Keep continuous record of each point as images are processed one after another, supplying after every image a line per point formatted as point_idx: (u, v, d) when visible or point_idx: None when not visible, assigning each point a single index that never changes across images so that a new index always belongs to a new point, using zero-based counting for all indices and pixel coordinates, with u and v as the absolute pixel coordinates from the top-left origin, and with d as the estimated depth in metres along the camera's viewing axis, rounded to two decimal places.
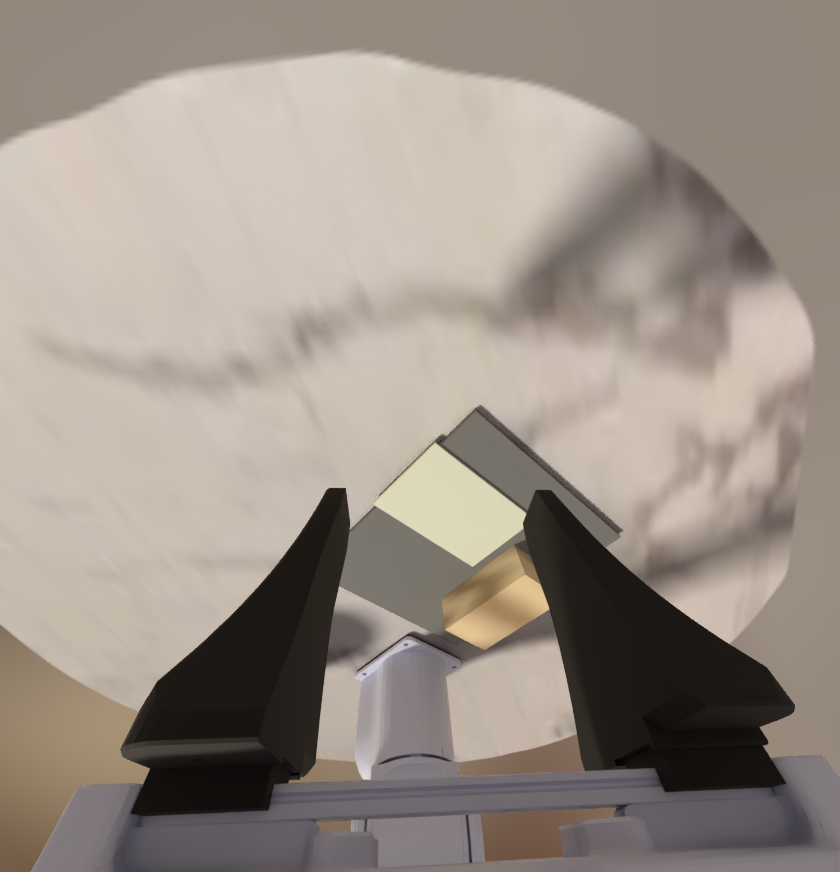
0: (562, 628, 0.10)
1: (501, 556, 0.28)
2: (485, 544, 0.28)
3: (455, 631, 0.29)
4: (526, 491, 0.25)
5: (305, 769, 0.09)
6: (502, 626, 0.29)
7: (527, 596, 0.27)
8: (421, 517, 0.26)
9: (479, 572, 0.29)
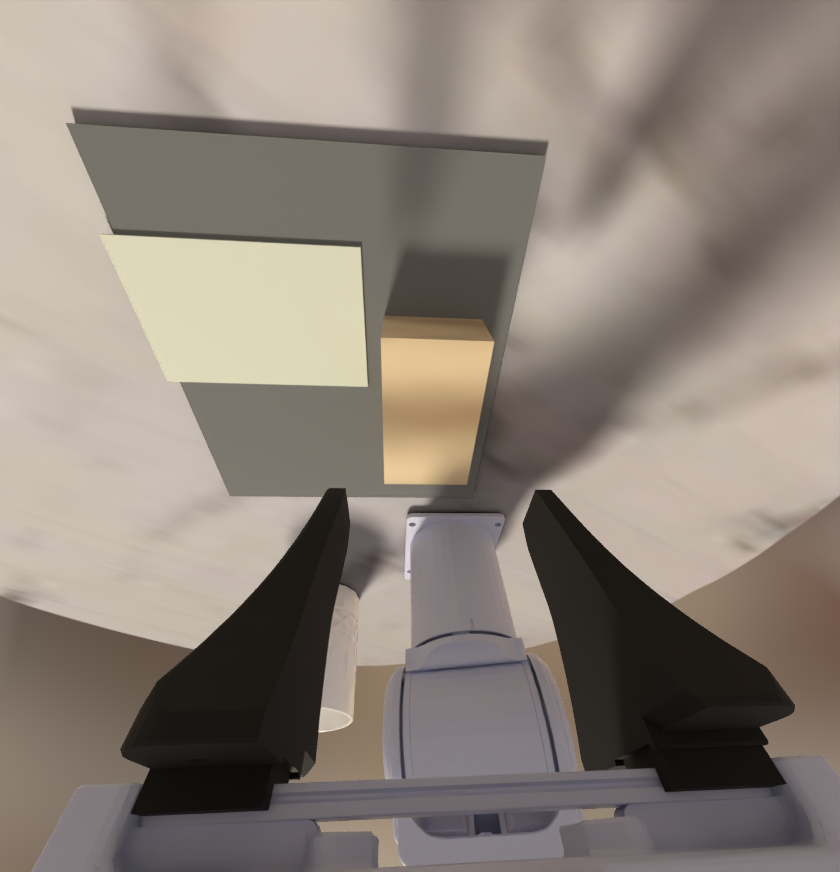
0: (562, 628, 0.10)
1: None
2: (343, 342, 0.17)
3: (398, 479, 0.20)
4: (295, 206, 0.14)
5: (305, 769, 0.09)
6: (450, 439, 0.18)
7: (429, 371, 0.15)
8: (230, 360, 0.18)
9: None
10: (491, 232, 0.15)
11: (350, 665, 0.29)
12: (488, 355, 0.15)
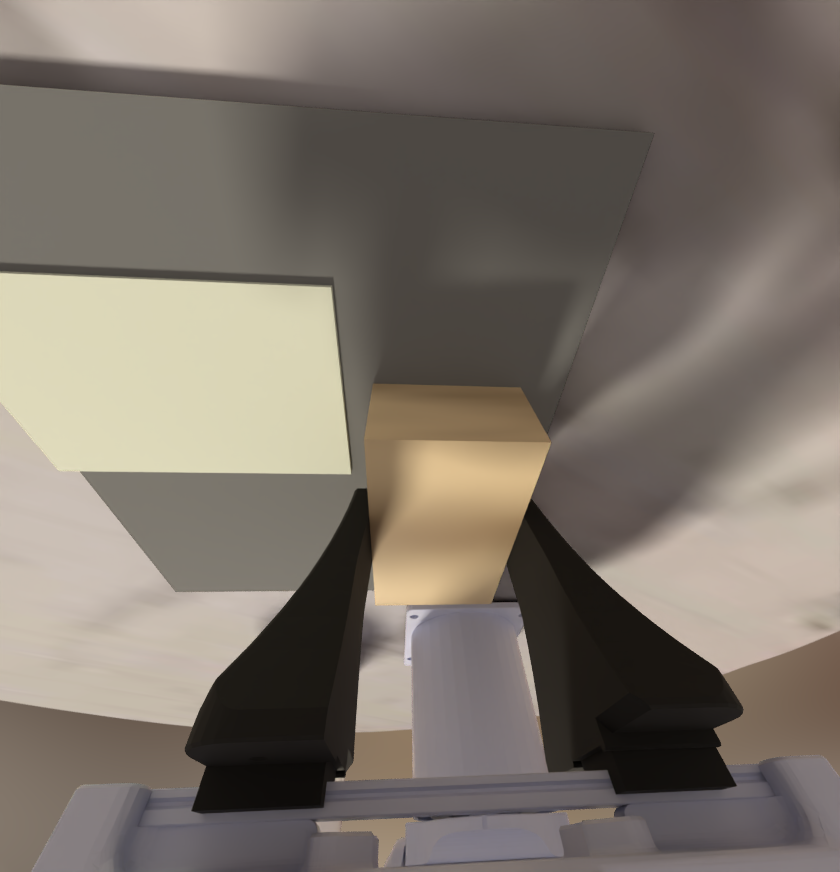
0: (530, 629, 0.10)
1: None
2: (312, 420, 0.12)
3: (395, 600, 0.14)
4: (217, 220, 0.08)
5: None
6: (472, 559, 0.12)
7: (442, 482, 0.10)
8: (145, 444, 0.12)
9: None
10: (547, 262, 0.09)
11: None
12: (539, 460, 0.09)
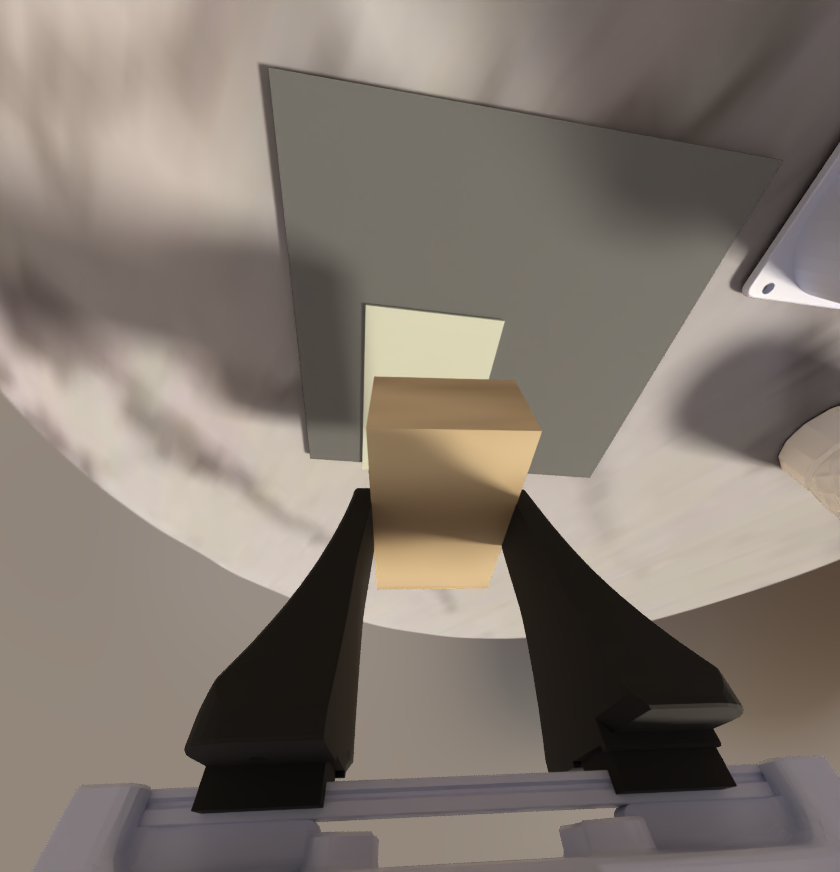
0: (530, 628, 0.10)
1: None
2: (450, 337, 0.17)
3: (396, 584, 0.14)
4: (338, 351, 0.18)
5: None
6: (468, 544, 0.13)
7: (440, 469, 0.10)
8: None
9: None
10: (347, 144, 0.13)
11: None
12: (531, 448, 0.10)
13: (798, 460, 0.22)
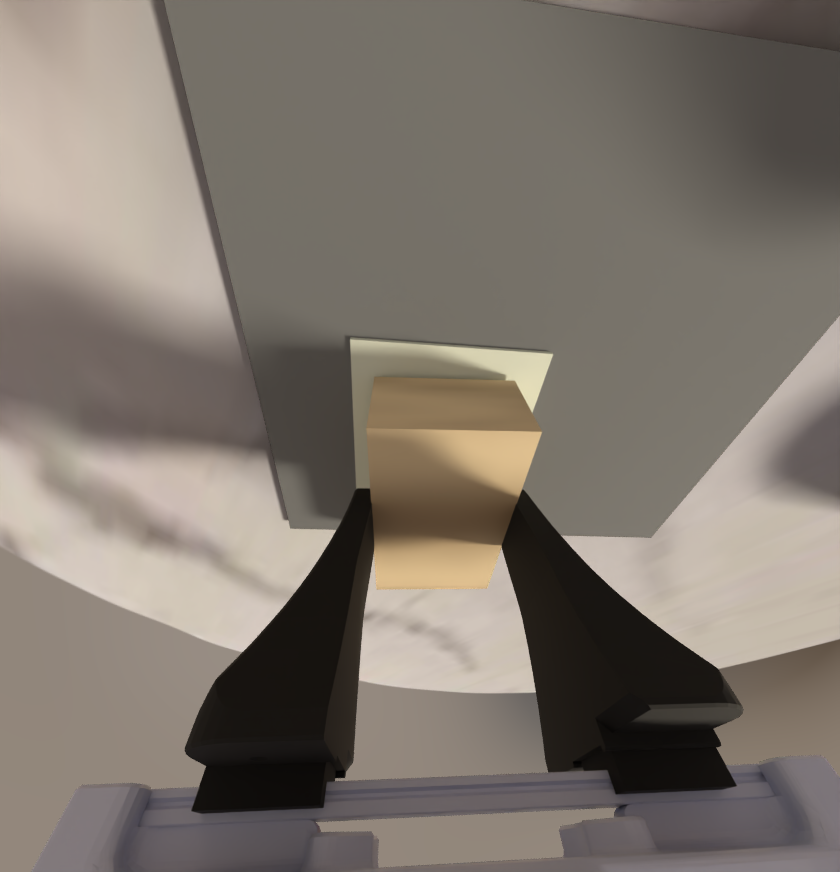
0: (530, 629, 0.10)
1: None
2: (474, 378, 0.12)
3: (396, 584, 0.15)
4: (316, 401, 0.13)
5: None
6: (468, 544, 0.13)
7: (440, 469, 0.10)
8: None
9: None
10: (304, 85, 0.07)
11: None
12: (531, 449, 0.10)
13: None
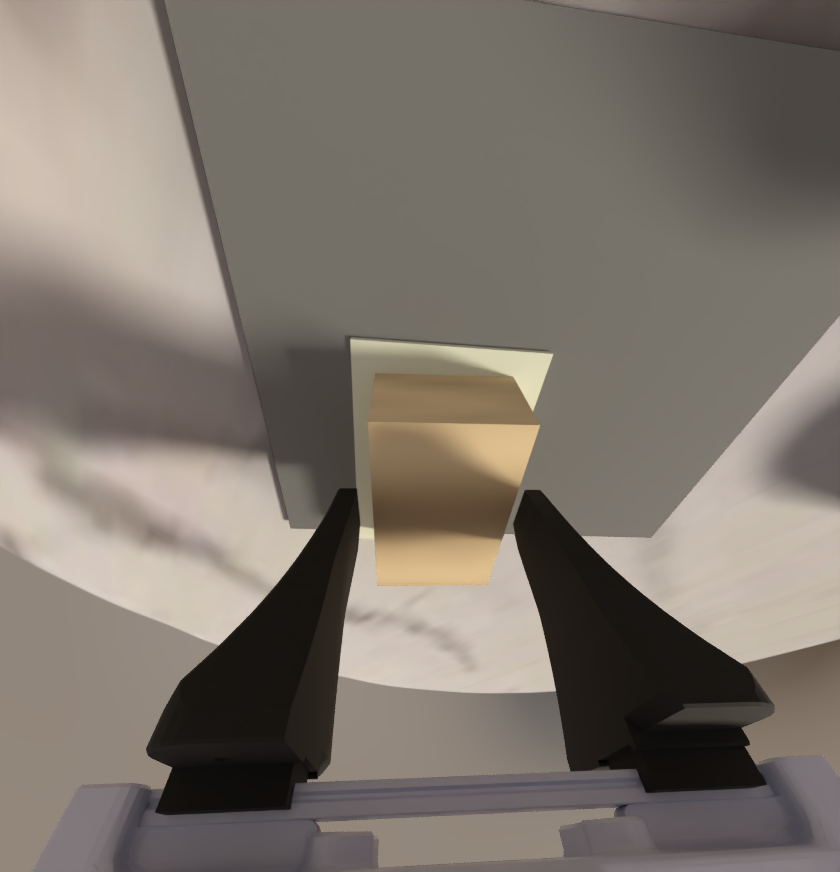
0: (550, 628, 0.10)
1: None
2: None
3: (396, 580, 0.15)
4: (316, 401, 0.13)
5: (321, 769, 0.09)
6: (468, 539, 0.13)
7: (440, 463, 0.10)
8: None
9: None
10: (304, 85, 0.07)
11: None
12: (529, 442, 0.10)
13: None
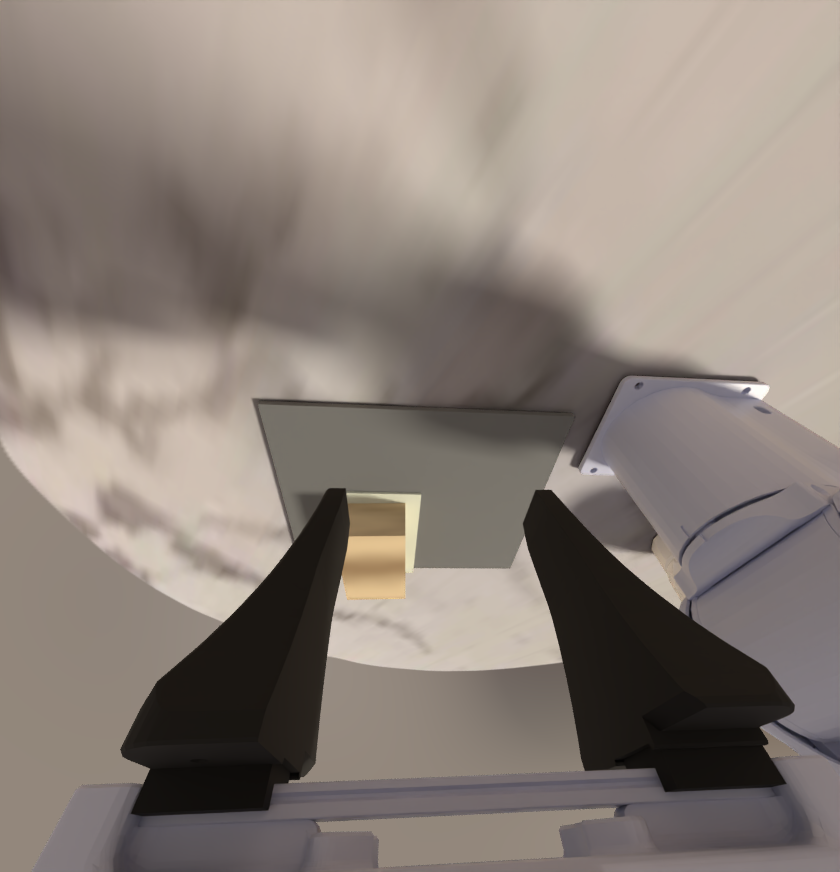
0: (562, 628, 0.10)
1: None
2: None
3: (357, 597, 0.28)
4: None
5: (305, 769, 0.09)
6: (388, 577, 0.27)
7: (367, 549, 0.24)
8: None
9: None
10: (306, 428, 0.21)
11: None
12: (403, 541, 0.24)
13: (659, 556, 0.30)
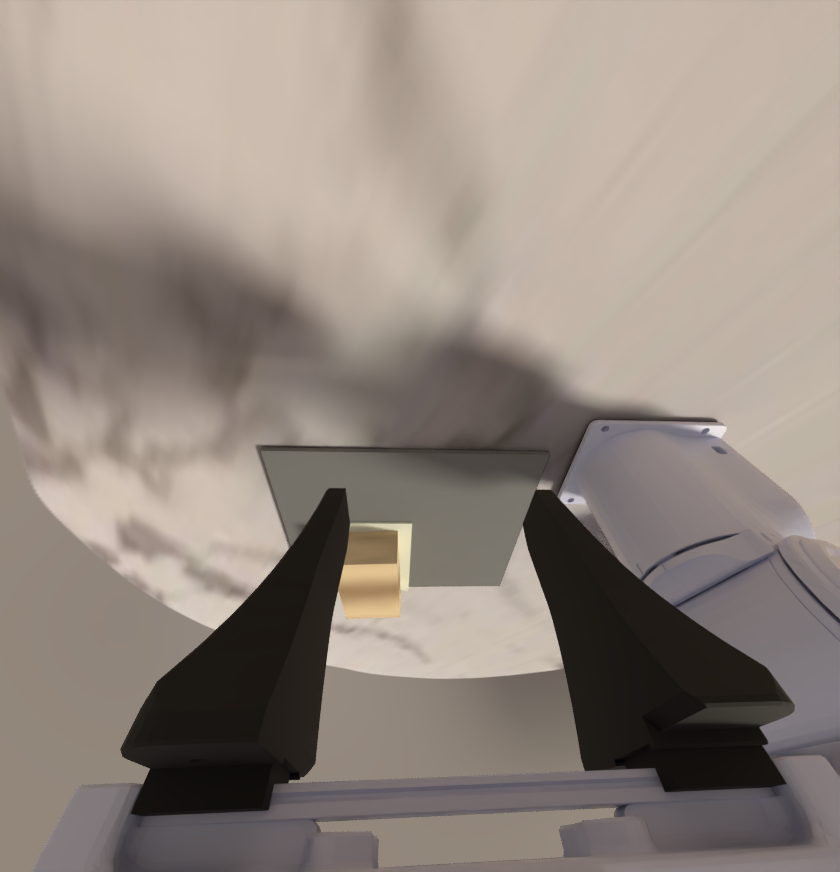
0: (562, 628, 0.10)
1: None
2: None
3: (355, 616, 0.30)
4: None
5: (305, 769, 0.09)
6: (383, 599, 0.29)
7: (362, 575, 0.26)
8: None
9: None
10: (304, 469, 0.23)
11: None
12: (395, 568, 0.26)
13: None
